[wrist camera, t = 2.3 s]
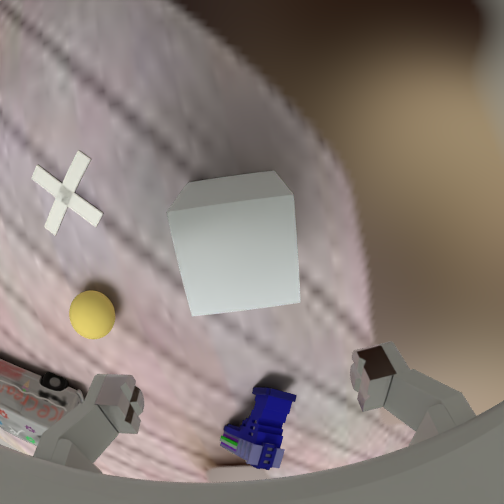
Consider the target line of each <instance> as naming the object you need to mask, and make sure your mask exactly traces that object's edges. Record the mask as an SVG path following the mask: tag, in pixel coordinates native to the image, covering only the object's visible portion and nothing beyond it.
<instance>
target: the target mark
mask: <svg viewBox="0 0 504 504" xmlns="http://www.w3.org/2000/svg"><path fill="white" fill-rule="evenodd" d="M90 161H91V159H90V158H89V157H88V156H86V155H85V154H83V153H82V152H80V151H78V152H77V154H76V156H75V158H74V160H73V162H72V164H71V166H70V168H69V170H68V172H67V174H66V176H65V178H64V181H63V183H61V182H60V181H59V180H57V179H56V178H55V177H53V176H52V175H51V174H49V173H48V172H47V171H46V170H44V169H43V168H42V167H40V166H39V165H37V166H36V169H35V171H34V174H33V176H32V180H34V181H35V182H36V183H38V184H39V185H40V186H41V187H43V188H44V189H45V190H47V191H48V192H49V193H50V194H52V195H53V196H54V197H56V199H55V201H54V204H53V206H52V209H51V211H50V214H49V216H48V219H47V221H46V224H45V228H46V229H47V230H49V231H50V232H51V233H52V234H54V235H56V234H57V232H58V229H59V227H60V224H61V222H62V219H63V217H64V215H65V212H66V210H67V208H68V207H69V208H70V209H72V210H73V211H74V212H76V213H77V214H78V215H80V216H81V217H82V218H84V219H85V220H87V221H88V222H89V223H91V224H92V225H94V226H95V227H97V225H98V223H99V221H100V219H101V217H102V215H103V212H101V211H100V210H98V209H97V208H96V207H94V206H93V205H91V204H90V203H89V202H87V201H86V200H84V199H83V198H82V197H80V196H79V195H78V194H76V193H75V190H76V188H77V186H78V184H79V182H80V180H81V178H82V176H83V174H84V172H85V170H86V168H87V166H88V164H89V163H90Z"/></svg>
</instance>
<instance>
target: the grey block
mask: <svg viewBox="0 0 504 504" xmlns="http://www.w3.org/2000/svg"><path fill="white" fill-rule="evenodd" d="M166 213H167V217H168V222H169V226H170V231H171V235H172V240H173V244H174V248H175V252H176V257H177V261H178V265H179V269H180V273H181V277H182V281H183V285H184V288H185V292H186V296H187V300H188V303H189V307H190V311H191V314H192V316H200V315H209V314H218V313H226V312H235V311H243V310H251V309H258V308H266V307H273V306H280V305H287V304H294V303H300V283H299V265H298V248H297V233H296V219H295V206H294V194H293V193H292V192H291V191H290V189H289V188H288V187H287V186H286V184H285V183H284V182H283V181H282V179H281V178H280V177H279V176H278V175H277V173H276V172H275V171H266V172H257V173H249V174H242V175H234V176H227V177H220V178H214V179H207V180H201V181H194V182H188V183H187V185H186V186H185V187H184V189H183V190H182V191H181V193H180V194H179V195H178V197H177V198H176V200H175V201H174V202H173V204H172V205H171V207H170V208H169V209H168V211H167V212H166Z"/></svg>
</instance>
